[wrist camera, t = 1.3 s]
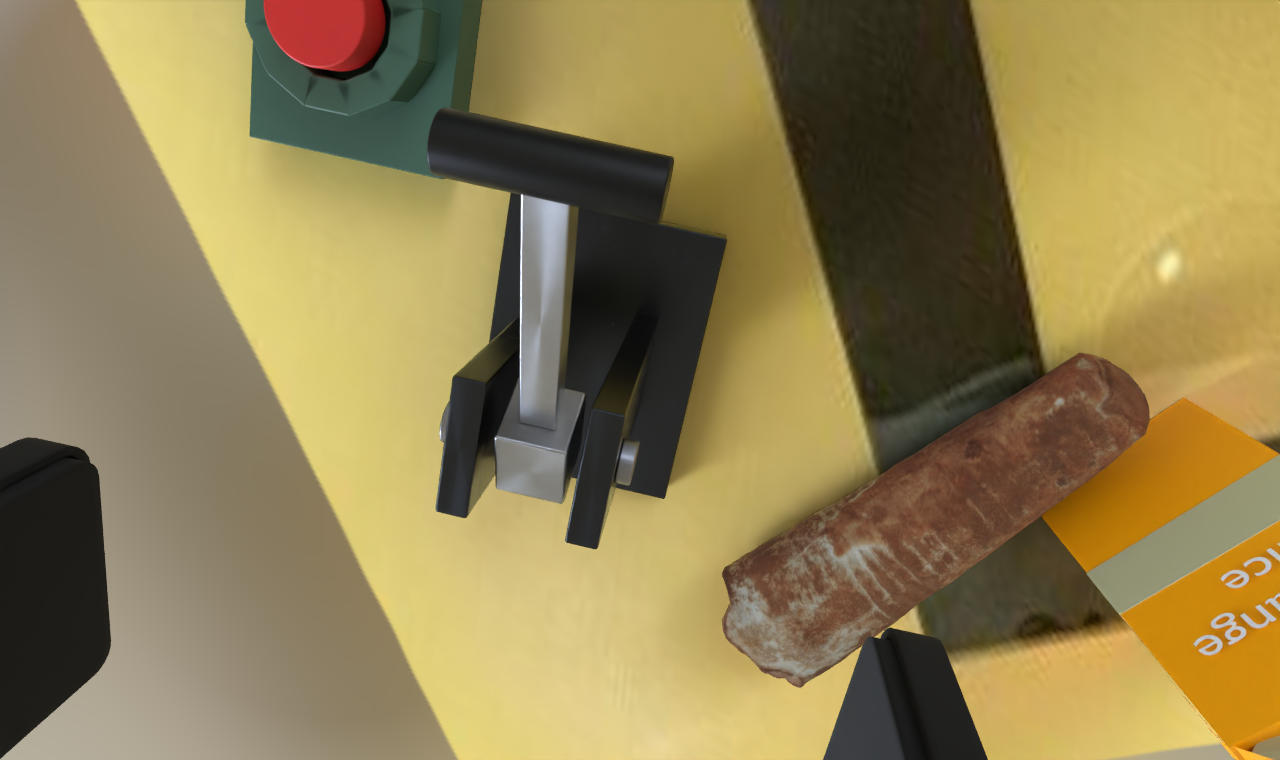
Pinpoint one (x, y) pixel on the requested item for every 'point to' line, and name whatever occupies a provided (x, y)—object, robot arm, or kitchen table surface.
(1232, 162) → the kitchen table surface
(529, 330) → the lever
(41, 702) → the robot arm
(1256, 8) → the kitchen table surface
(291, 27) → the button
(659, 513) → the kitchen table surface
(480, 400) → the bracket
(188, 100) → the kitchen table surface
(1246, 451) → the orange juice
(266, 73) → the button box
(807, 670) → the salami
